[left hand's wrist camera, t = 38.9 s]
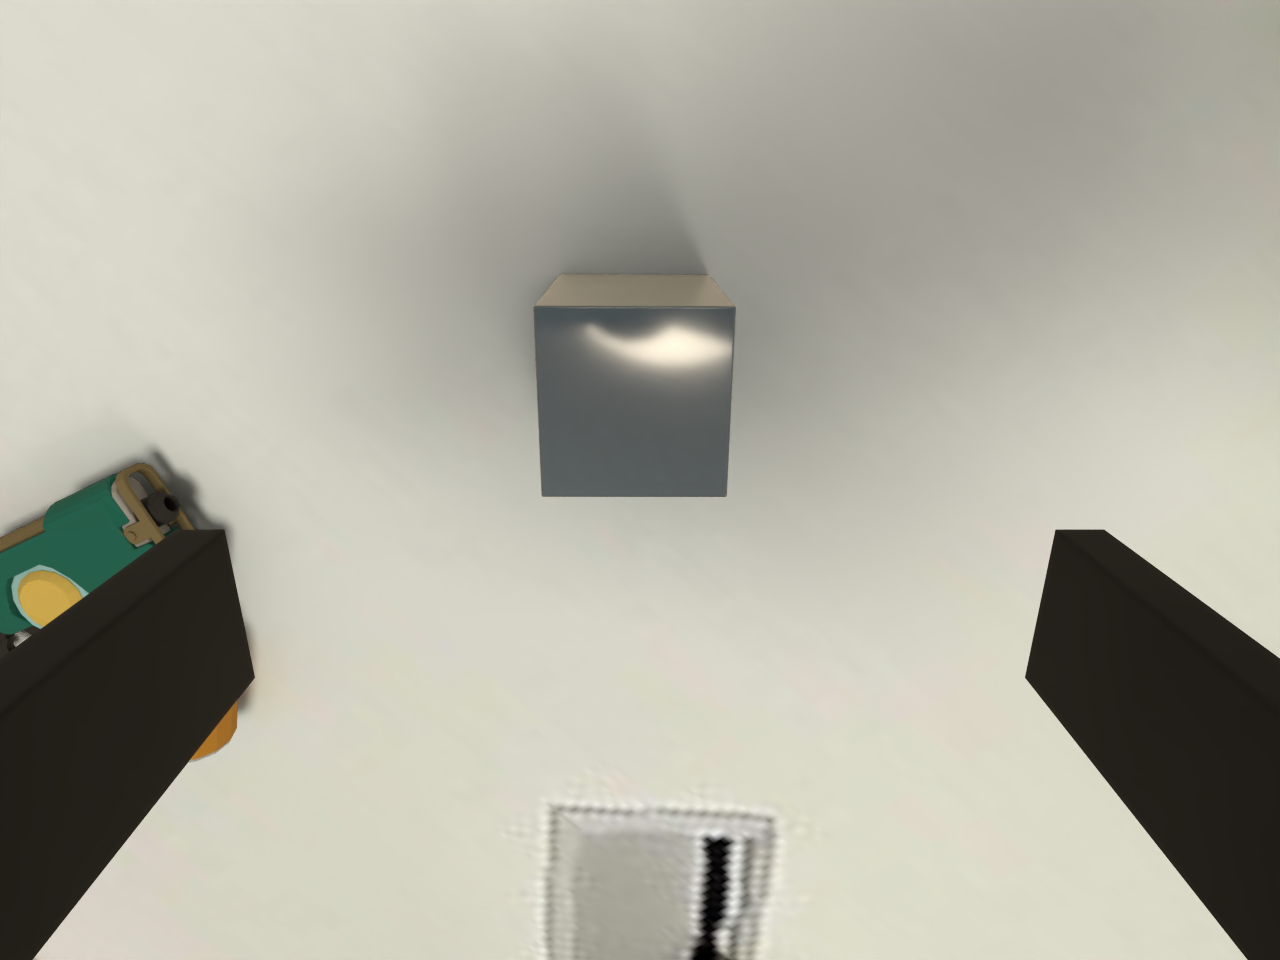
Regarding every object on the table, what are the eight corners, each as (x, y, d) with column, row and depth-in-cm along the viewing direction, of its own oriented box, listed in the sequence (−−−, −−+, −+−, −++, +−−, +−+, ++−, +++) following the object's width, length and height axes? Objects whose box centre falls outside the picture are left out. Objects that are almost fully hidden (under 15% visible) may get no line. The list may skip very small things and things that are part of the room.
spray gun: (1, 765, 40) (-137, 492, 35) (308, 736, 38) (207, 444, 33) (-77, 827, 36) (-244, 529, 31) (263, 798, 34) (141, 477, 29)
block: (708, 274, 31) (735, 306, 23) (703, 420, 33) (726, 497, 25) (559, 274, 31) (533, 305, 23) (563, 420, 33) (541, 497, 25)
